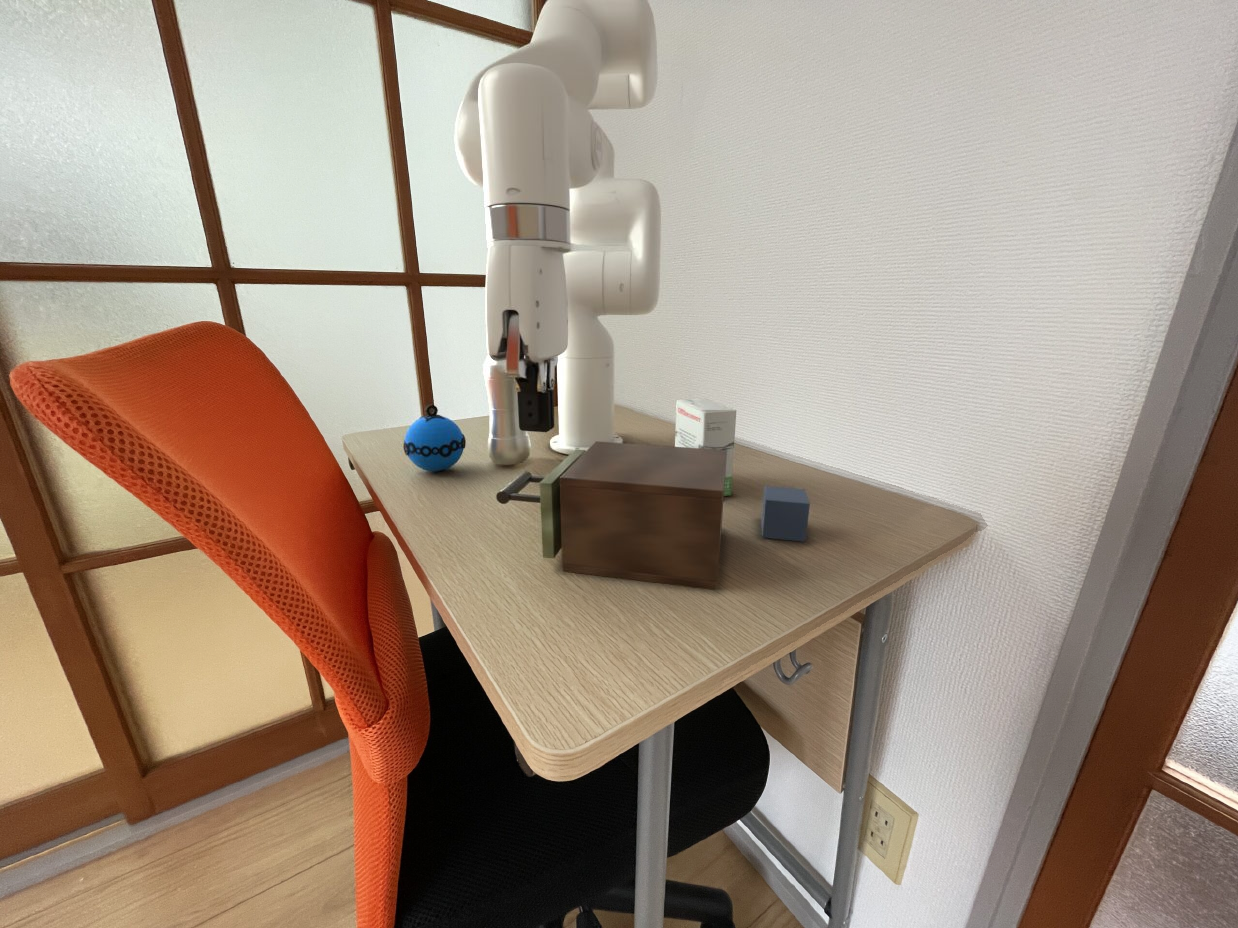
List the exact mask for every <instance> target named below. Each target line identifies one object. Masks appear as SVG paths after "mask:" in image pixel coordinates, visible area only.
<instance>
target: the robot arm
mask: <svg viewBox="0 0 1238 928" xmlns="http://www.w3.org/2000/svg"><path fill="white" fill-rule="evenodd" d="M534 28H535V29H534V31H533V33H532V37H531V40H530V42H529V43H527V44H525V45H523V46H521V47H519V48H518V49H516V50H514V51H512V52H511V53H508V54H507V55H505V56H503V57H501V58H500V59H498V60H496V61H493V62H492V63H489V65H487V66H485V67H484V68H483V69H481V70H480V71H479V72H477V73H476V75H475V76H474V77H473V78H472V79H471V81H470V82H469V84H468V86H467V88H466V91H465V93H464V95H463V97H462V101H461V102H460V106H459V109H458V112H457V116H456V121H455V129H454V146H455V153H456V156H457V161H458V163H459V166H460V168H461V170H462V171H463V173H464V175H465V177H466V178H467V179H468V180H469V181H470V182H471V183H472V184H474V185H475V186H478V187H480V188H483V193H484V208H485V211H484V212H485V224H486V241H487V250H488V251H487V257H486V258H487V259H486V268H485V269H486V270H485V271H486V272H485V335H486V336H485V337H486V340H485V341H486V352H487V356H488V355H489V357H490V358H491V359H492V360H494V361H503V360H506V374H507V376H509V377H512V378H514V381H515V389H516V391H517V396H518V416H519V428H520V430H522V431H527V432H532V433H533V432H535V433H549V432H550V431H552V430H553V428H555V399H554V398H555V395H554V389H555V388H554V387H555V368H556V374H557V375H556V378H557V380H556V381H557V407H558V409H557V410H558V434H556V435H555V436H553V437H551V438H550V441H549V444H550V445H549V446H550V448H551V450H553V451H555V452H557V453H559V454H564V455H568V456H569V455H570V454H571V453H572V452H573V451H574V450H575V449H580V450H585V451H587V450H588V449H589V448H590V447H591V446H592V445H593V444H594V443H595V442H596V441H597V442H612V443H624V440H623V437H621V436H620V435H618V434H615V344H614V343H615V342H614V340H613V337H612V335H611V334H610V332H609V331H608V330H607V328H606V327H605V326H604V324H603V323H602V322H601V321H600V319H599V317H600V316H643V315H647V314H650V313H652V312H653V311H655V309H656V307H657V305H658V303H659V298H660V289H661V287H660V285H661V245H662V244H661V243H662V241H661V240H662V238H661V237H662V207H661V199H660V195H659V192H658V189H657V188H656V186H655V184H653V183H652V182H651V181H649V180H647V179H643V178H642V179H641V178H615V157H616V155H615V153H616V152H615V149H614V146H613V144H612V141H611V140H610V139H609V137H608V136H607V134H606V132H605V131H604V130H603V129H602V128H601V126H600V125H599V124H598V122H596V121H595V119H594V117H593V115H592V114H591V112H590V111H589V110H636V109H643V108H645V107H647V106H648V105H649V104H650V103H652V101H653V99H654V97H655V94H656V89H657V83H658V54H657V53H658V46H657V44H658V43H657V30H656V22H655V19H654V14H653V10H652V7H651V5H650V3H649V1H648V0H546V1H545V3H544V4H543V7H542V8H541V11H540V13H539V16H538V19H537V22H536V24H535V27H534ZM571 244H573V245H577V246H589V247H590V246H592V247H628V248H629V249H630V250H631V251H629V250H628V251H624V250H621V251H620V250H619V251H614V250H609V251H608V250H575V251H572V246H571Z"/></svg>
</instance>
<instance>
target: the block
mask: <svg viewBox="0 0 1238 928" xmlns="http://www.w3.org/2000/svg"><path fill="white" fill-rule="evenodd" d="M763 488H764V489H763V497H762V509H761V518H760V523H761V525H760V526H761V535H762V536H761V537H762V539H773V540H783V541H791V542H793V541H794V542H802V543H805V542H806V539H807V537H806V536H807V530H808V523H809V513H810V505H811V502H810V500H809V496H808V493H807V490H806V489H805V488H795V487H794V488H793V487H784V486H783V487H782V486H770V485H765V486H764V487H763Z"/></svg>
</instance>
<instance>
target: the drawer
mask: <svg viewBox="0 0 1238 928" xmlns="http://www.w3.org/2000/svg"><path fill="white" fill-rule="evenodd" d="M585 452H586V451H585V450H580V449H575V450H574V451H573V452H572V453H571V454H570V455H569V454H568V456H566V457H565V458H564V460H562V461H561V463H559V464H558V465H557V466H556V467H555V468H554V469H552V471H551V472H549V473H548V474H547V475H546V476H540V475H533V474H532V473H531V472H530V471H528V470H526V471H525V470H523V472H521V473H520V474H519V475H517V477H515V478H514V479H513V480H511V481H510V482H509V483H507V484H506V485H505V486H504V487H503V488H501V489H500V490H499V491H498V492H497V493H496V497H495V498H496V500H497V502H498V503H499V504H501V505H506V504H508V503H509V502H511V501H514V502H515V501H516V502H526V503H537V504H540V522H541V523H540V525H541V545H542V546H541V547H542V550H541V551H542V558H545V559H555V558H556V557H557V555H558V553H559V552H560V551H561V550H562V537H561V503H560V477H561V476H562V475H563V474H564V473H565V472H566V471H567V470H568V469H569V468H570V467H571V466H572V465H573V464H574V463H575V462H576V461H577V460H578V459H579V458H580V457H581V456H582V455H583V454H584V453H585ZM530 483H534V484H535V483H536V484H537V483H538V484H539V494H538V495H537V494H526V493H520V492H522V491H523V490H524V489H525V488H526V487H527V486H528V485H529V484H530Z"/></svg>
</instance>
